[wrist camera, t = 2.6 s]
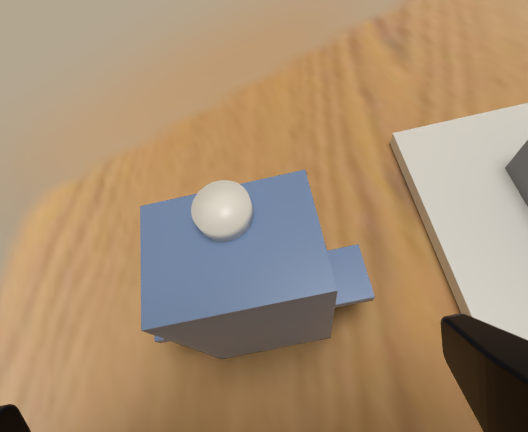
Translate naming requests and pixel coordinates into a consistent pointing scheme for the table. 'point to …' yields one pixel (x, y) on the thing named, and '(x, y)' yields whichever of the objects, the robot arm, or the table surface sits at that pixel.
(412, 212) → the table surface
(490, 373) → the robot arm
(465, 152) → the plate
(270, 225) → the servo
